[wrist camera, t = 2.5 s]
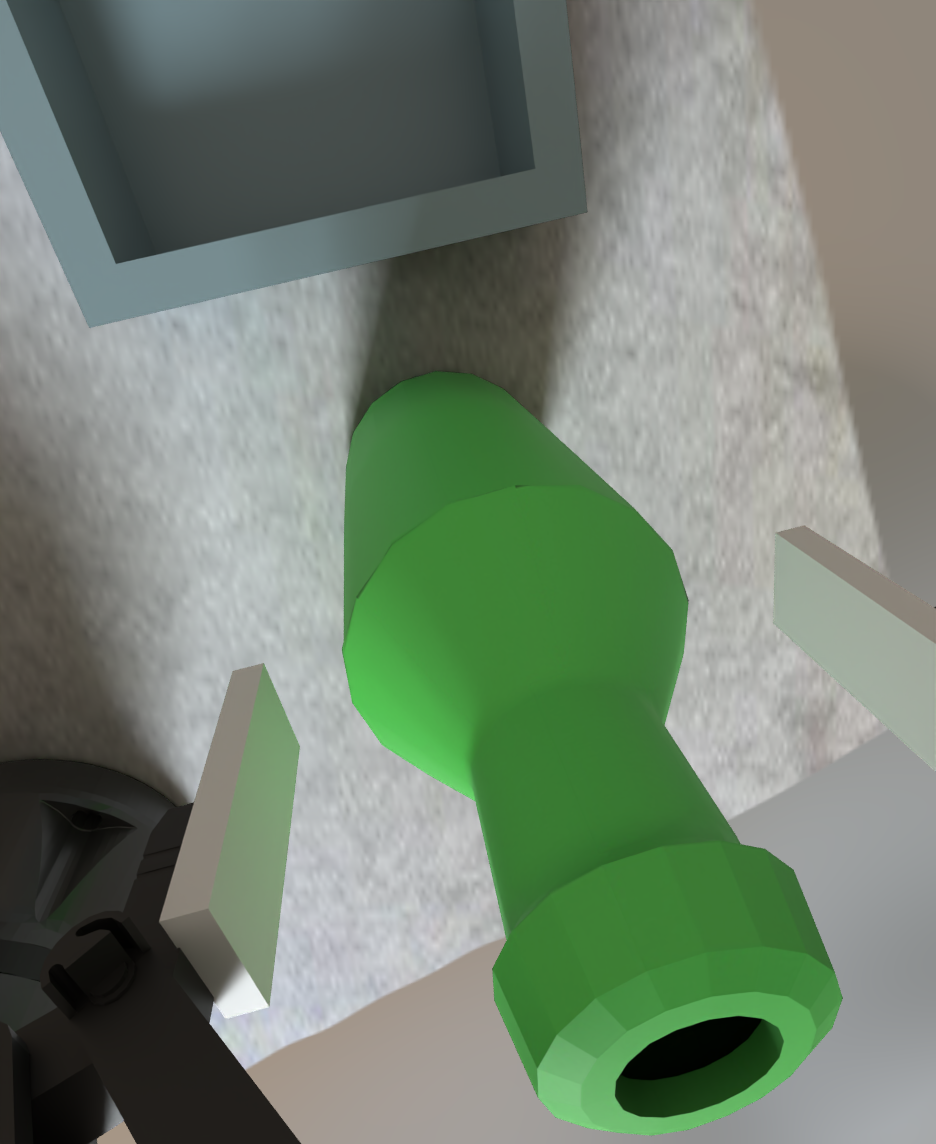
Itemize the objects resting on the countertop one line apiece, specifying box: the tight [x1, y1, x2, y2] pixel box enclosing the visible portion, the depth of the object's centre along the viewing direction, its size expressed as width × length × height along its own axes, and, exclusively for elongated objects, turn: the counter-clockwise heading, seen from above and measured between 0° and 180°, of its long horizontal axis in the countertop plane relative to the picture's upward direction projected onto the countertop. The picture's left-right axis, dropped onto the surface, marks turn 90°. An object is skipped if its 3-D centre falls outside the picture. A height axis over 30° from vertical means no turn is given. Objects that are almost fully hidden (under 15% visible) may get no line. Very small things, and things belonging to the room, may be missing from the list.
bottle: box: [342, 371, 843, 1135], centre depth 19 cm, size 9×9×25 cm
